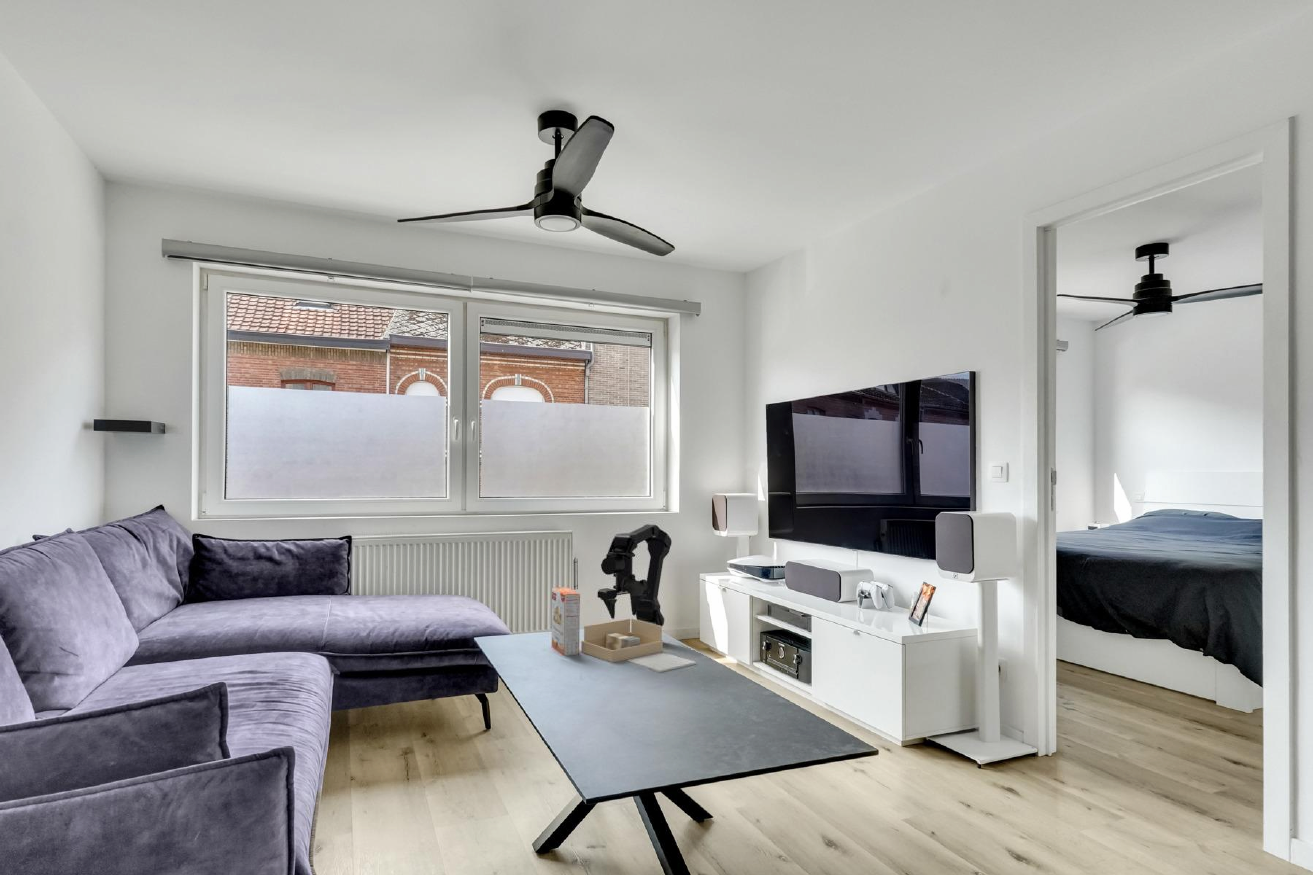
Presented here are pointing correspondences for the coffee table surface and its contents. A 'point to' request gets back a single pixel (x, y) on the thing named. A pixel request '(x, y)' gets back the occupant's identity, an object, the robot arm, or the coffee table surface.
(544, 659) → the coffee table surface
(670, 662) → the grey mat
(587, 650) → the carton
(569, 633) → the cracker box
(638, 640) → the grey and cream hammer
